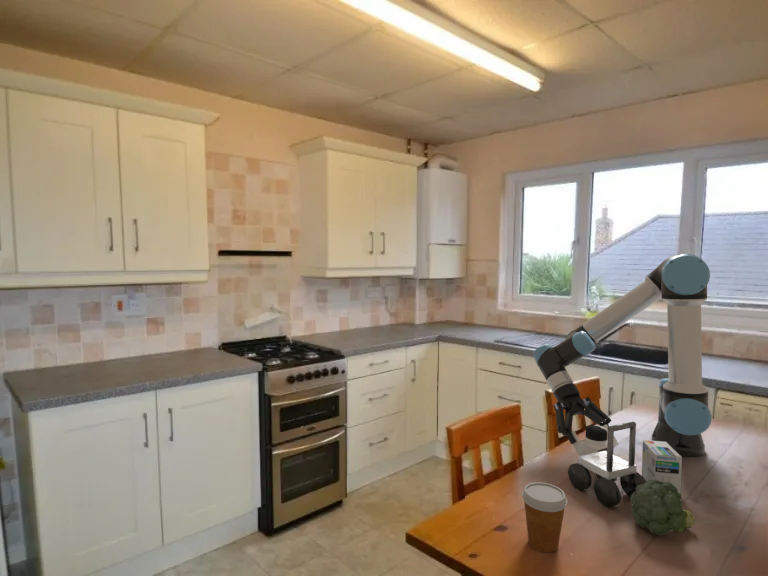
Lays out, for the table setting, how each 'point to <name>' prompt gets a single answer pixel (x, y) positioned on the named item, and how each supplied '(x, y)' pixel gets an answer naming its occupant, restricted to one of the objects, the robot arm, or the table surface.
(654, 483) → the vegetable
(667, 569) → the table surface
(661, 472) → the light bulb box
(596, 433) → the medicine bottle
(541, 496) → the disposable coffee cup
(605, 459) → the trolley
